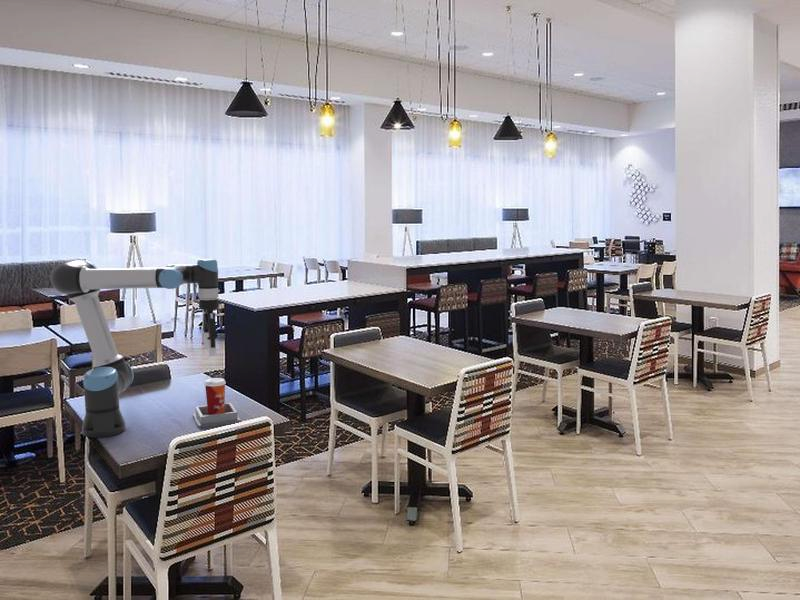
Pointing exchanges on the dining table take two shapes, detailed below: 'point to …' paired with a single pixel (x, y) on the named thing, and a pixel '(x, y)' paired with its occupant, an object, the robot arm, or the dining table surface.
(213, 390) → the coffee cup
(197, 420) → the tray
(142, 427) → the dining table surface
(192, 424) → the dining table surface
